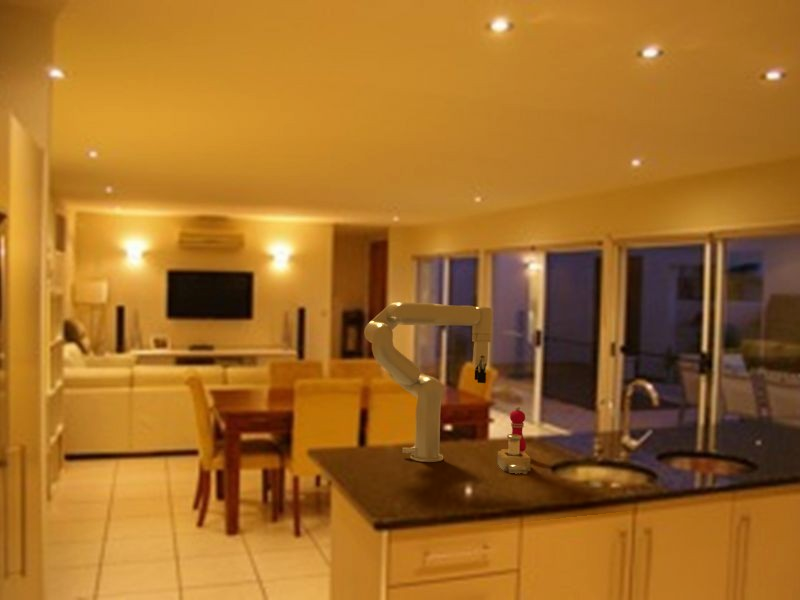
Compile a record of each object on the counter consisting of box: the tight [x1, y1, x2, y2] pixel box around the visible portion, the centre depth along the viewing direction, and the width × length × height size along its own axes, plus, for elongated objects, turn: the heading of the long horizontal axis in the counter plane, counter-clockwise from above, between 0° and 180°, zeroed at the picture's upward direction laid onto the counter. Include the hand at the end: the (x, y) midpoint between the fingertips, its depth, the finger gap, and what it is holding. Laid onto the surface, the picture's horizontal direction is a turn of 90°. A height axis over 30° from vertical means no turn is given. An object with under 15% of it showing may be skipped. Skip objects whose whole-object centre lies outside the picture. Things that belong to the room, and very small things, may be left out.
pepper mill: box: [507, 406, 527, 452], centre depth 271 cm, size 7×7×20 cm
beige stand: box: [497, 448, 531, 475], centre depth 253 cm, size 10×17×5 cm, turn 3°
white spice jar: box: [506, 433, 521, 456], centre depth 254 cm, size 5×5×12 cm
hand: (479, 381), depth 271 cm, fingers open, 9 cm apart
